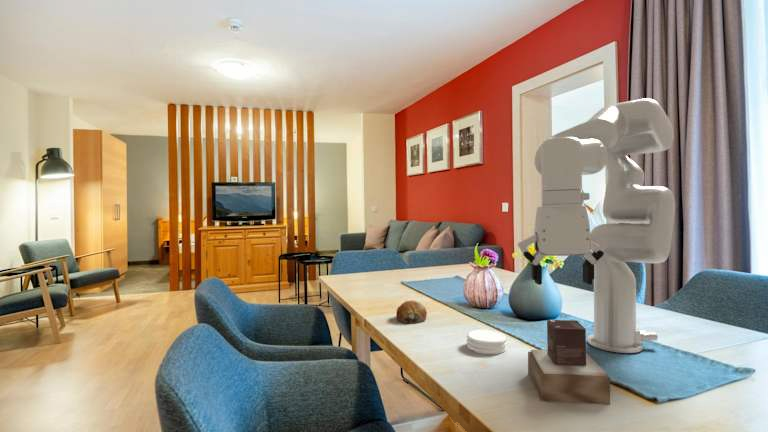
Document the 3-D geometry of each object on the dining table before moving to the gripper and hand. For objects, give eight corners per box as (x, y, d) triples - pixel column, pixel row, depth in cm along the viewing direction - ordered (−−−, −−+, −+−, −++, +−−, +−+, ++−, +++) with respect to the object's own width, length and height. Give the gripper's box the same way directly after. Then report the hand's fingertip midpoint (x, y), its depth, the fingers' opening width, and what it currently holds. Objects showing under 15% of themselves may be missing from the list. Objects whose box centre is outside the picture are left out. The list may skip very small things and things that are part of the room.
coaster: (459, 345, 107) (459, 332, 107) (490, 339, 111) (490, 327, 111) (482, 358, 98) (482, 343, 98) (515, 351, 102) (515, 338, 101)
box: (586, 367, 77) (586, 329, 77) (553, 365, 78) (553, 327, 78) (577, 355, 83) (577, 320, 83) (546, 354, 84) (546, 319, 84)
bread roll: (429, 330, 131) (433, 306, 134) (416, 324, 123) (421, 298, 126) (403, 325, 137) (407, 302, 139) (388, 319, 129) (393, 295, 131)
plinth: (586, 376, 86) (586, 350, 86) (610, 404, 74) (610, 374, 74) (528, 374, 87) (527, 348, 87) (542, 400, 75) (541, 371, 75)
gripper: (599, 198, 84) (599, 279, 85) (513, 200, 86) (515, 279, 87) (615, 198, 77) (615, 287, 77) (521, 200, 79) (522, 287, 79)
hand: (562, 283), depth 82 cm, fingers open, 9 cm apart
